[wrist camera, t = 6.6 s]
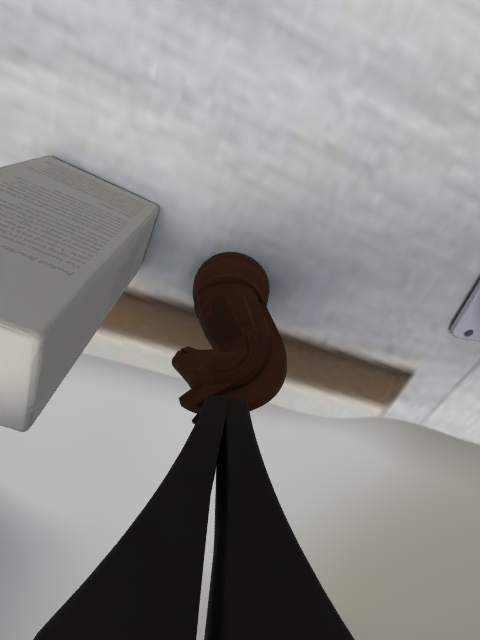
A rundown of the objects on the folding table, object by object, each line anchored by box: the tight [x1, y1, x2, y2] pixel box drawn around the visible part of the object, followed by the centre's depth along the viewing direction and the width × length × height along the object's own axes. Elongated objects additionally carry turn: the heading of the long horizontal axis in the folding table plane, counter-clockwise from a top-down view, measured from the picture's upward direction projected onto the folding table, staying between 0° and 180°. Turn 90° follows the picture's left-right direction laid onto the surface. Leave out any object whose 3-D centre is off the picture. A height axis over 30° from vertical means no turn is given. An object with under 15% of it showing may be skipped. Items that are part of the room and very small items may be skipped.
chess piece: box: [172, 252, 287, 424], centre depth 16 cm, size 5×5×10 cm
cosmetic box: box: [0, 156, 159, 432], centre depth 13 cm, size 6×4×12 cm
